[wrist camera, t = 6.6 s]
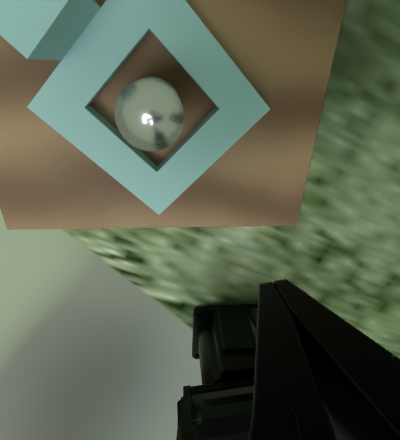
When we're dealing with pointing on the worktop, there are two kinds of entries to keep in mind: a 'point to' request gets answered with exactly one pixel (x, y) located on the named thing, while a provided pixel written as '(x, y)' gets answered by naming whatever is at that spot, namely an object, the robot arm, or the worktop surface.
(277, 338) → the robot arm
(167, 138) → the post
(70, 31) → the flange
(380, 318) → the worktop surface
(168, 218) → the board
